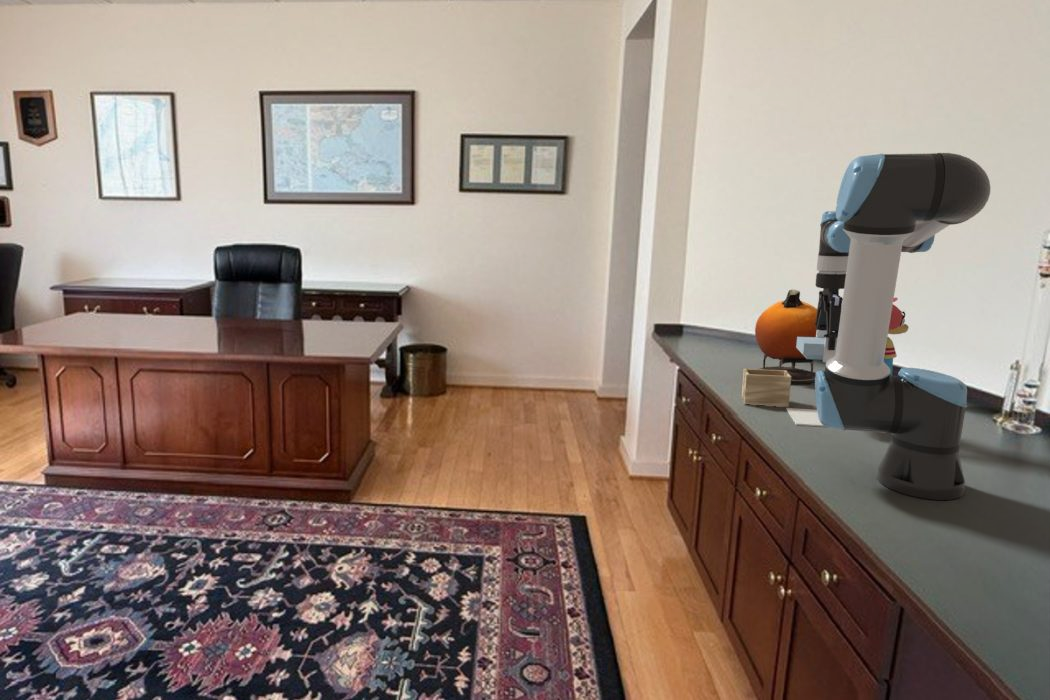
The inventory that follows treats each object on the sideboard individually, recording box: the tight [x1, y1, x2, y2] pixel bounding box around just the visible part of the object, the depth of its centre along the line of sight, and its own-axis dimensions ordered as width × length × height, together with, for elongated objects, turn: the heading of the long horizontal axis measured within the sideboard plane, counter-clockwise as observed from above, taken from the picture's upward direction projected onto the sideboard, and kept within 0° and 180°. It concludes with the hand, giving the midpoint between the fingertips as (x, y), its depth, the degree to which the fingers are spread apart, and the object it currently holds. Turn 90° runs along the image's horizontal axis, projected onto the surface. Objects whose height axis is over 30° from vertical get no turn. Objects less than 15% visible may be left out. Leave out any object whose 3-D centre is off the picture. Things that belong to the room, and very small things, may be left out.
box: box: [741, 368, 792, 408], centre depth 185 cm, size 8×12×9 cm, turn 78°
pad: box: [785, 407, 826, 428], centre depth 171 cm, size 14×14×1 cm
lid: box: [796, 337, 825, 361], centre depth 168 cm, size 9×13×4 cm
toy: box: [884, 297, 909, 376], centre depth 190 cm, size 15×10×30 cm
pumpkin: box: [754, 289, 818, 386], centre depth 212 cm, size 22×22×30 cm
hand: (824, 357), depth 168 cm, fingers closed on lid, 9 cm apart
